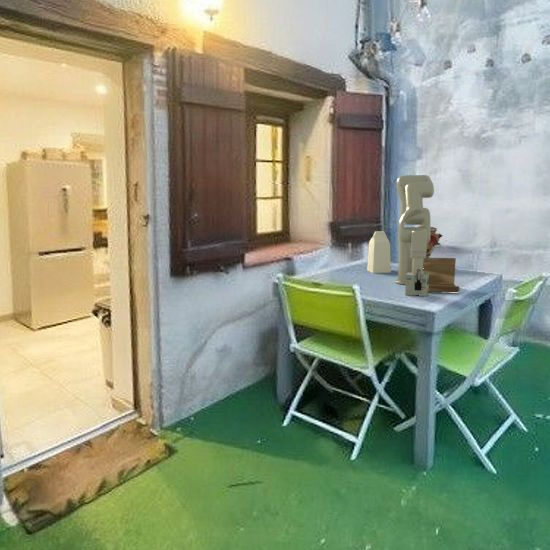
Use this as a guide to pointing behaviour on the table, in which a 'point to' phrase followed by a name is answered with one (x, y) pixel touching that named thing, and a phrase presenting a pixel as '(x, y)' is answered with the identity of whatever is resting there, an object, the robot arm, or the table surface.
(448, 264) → the cleat board
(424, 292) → the light bulb box
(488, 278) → the table surface
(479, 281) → the table surface
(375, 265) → the milk
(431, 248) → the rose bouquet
